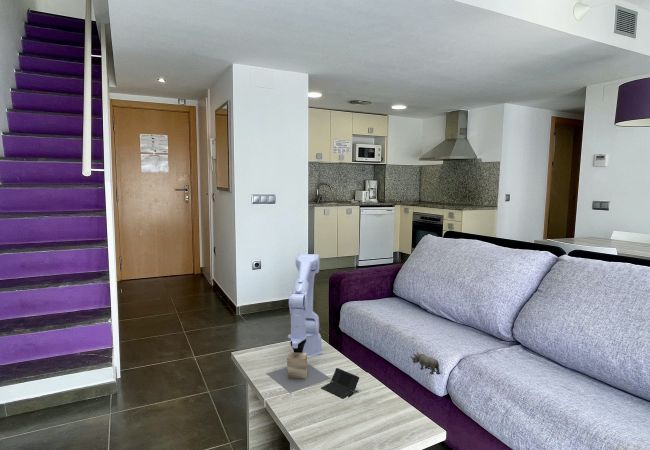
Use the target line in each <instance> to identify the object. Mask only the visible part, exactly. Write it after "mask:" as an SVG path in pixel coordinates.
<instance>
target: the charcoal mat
mask: <svg viewBox="0 0 650 450" xmlns="http://www.w3.org/2000/svg"><path fill="white" fill-rule="evenodd" d="M307 367H308V374H307V378H306V379H304V378H288V368H287V366H286V367H282V368H280V369H277V370H276V369H275V370H273V371H270V372H266V373H265V374H266V375H267V376H268V377H269V378H271V379H272V380H273V381H275V382H276V383H277V384H278V385H279V386H281V387H282V388H283V389H285V391H287V392H288V393H290V394H291V393H294V392H297V391H299V390H300V391H301V390H302V389H306V388H308V387H311V386H314V385H317V384H319V383H322V382H325V381H328V380H332V378H331V377H330V376H328V375H327V374H325V373H323V372H322V371H321V370H319V369H318V368H316V367H314V366H312V365H311V364H309V363H308V362H307Z"/></svg>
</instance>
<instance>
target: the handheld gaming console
mask: <svg viewBox="0 0 650 450" xmlns="http://www.w3.org/2000/svg"><path fill="white" fill-rule="evenodd" d="M333 372H334V373H333V375H332V378H331V379H330V382H329V383H327V384H325V385H323V386H321V387H320V389H321V390H323V391H325V392H327V393H330V394H331V395H333V396H336V397H337V398H339V399H341V400H344V399H346V398H351V397H352V396H354V395H355V390H356V388H357V386H358V383H359V380H360V377H359V376H358V375H356V374H354V373H351V372H348V371H346V370H343V369H341V368H338V367H336V368H335V370H334V371H333Z"/></svg>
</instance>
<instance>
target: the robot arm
mask: <svg viewBox="0 0 650 450" xmlns="http://www.w3.org/2000/svg"><path fill="white" fill-rule="evenodd" d="M320 258H321V257H320V255H319V254H318V253H316V254H313V253H311V254H309V253H297V254H296V256H295V266H296V269H297V271H298V278H297V279H296V280H295V281H294V285H293V288H292V294H290V295H289V297H288V307H289V314H290V333H289V334H288V335H287V338H288V339H290V343H289V344H290V347H291V348H292V350H293V351H292V352H296V353H307V358H310V357H312V356H316V355H317V356H318V355H321V354H323V351H322V336H321V333H320V332H319V331H320V317H319V315H318V314H317V313H316V312H315V311H314V285H315V284H314V283H315V276H316V274H319V272H320V265H321V263H320V261H321V260H320Z"/></svg>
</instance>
